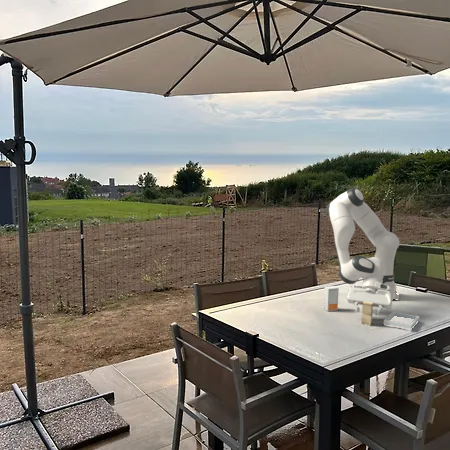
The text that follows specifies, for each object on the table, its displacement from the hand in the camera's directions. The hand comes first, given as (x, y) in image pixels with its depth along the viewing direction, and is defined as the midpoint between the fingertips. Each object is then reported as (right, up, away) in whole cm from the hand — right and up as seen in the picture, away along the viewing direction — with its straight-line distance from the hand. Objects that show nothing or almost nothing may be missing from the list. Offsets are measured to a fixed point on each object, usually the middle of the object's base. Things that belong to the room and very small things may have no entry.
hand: (366, 312), depth 195 cm
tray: (+17, -5, +1) cm, 18 cm away
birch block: (0, -5, +1) cm, 5 cm away
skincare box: (-11, -3, +22) cm, 25 cm away
